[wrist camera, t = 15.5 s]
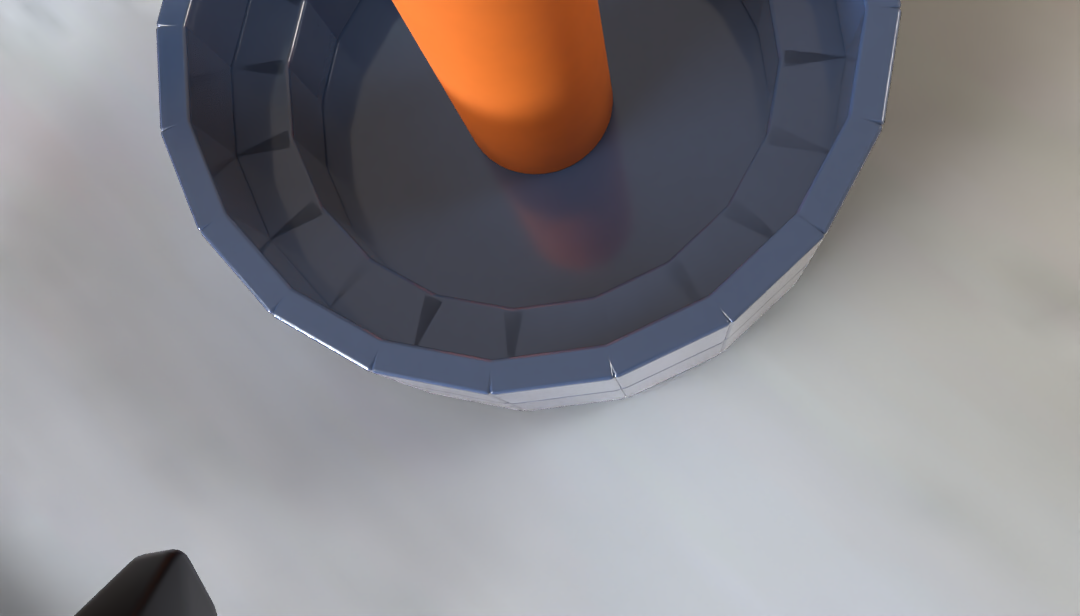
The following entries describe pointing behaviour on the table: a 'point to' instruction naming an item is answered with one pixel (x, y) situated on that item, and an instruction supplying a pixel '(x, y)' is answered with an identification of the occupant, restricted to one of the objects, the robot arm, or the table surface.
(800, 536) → the table surface
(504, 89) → the screwdriver
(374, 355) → the bowl
